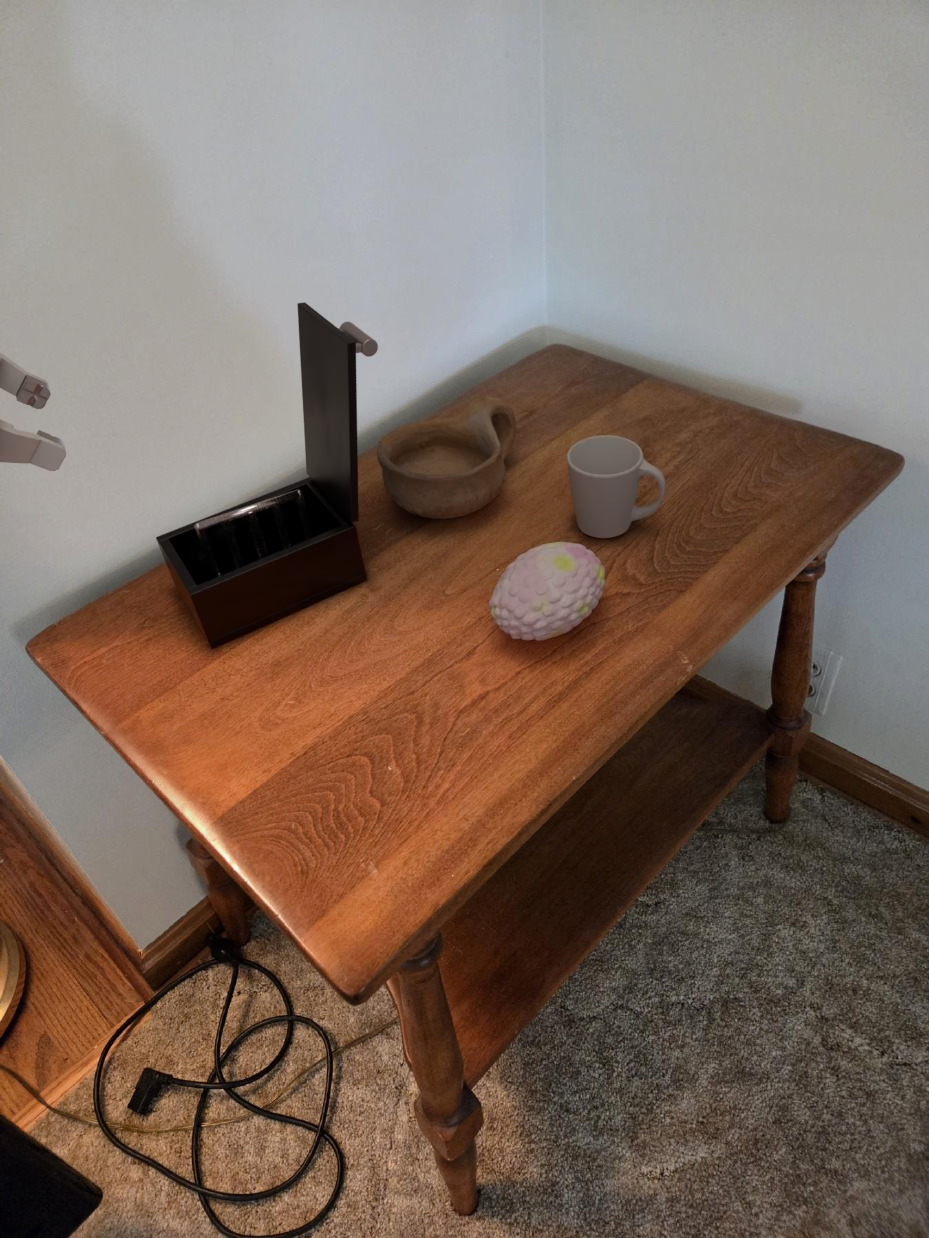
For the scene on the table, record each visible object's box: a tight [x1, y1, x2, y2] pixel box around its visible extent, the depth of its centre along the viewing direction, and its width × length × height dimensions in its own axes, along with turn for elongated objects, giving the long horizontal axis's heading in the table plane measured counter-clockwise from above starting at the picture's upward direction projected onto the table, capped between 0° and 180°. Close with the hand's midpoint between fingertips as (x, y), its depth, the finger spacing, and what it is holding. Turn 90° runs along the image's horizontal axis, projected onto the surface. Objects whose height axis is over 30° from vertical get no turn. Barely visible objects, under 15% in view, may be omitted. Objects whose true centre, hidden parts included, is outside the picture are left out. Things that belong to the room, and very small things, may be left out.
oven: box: [155, 476, 368, 650], centre depth 92 cm, size 17×11×7 cm, turn 121°
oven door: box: [296, 302, 379, 523], centre depth 87 cm, size 18×11×4 cm
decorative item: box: [488, 541, 606, 642], centre depth 84 cm, size 9×11×10 cm
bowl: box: [376, 396, 517, 520], centre depth 101 cm, size 18×14×10 cm
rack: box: [194, 490, 314, 579], centre depth 90 cm, size 11×4×9 cm, turn 115°
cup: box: [566, 434, 667, 539], centre depth 93 cm, size 8×10×8 cm
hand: (53, 425), depth 62 cm, fingers open, 8 cm apart
